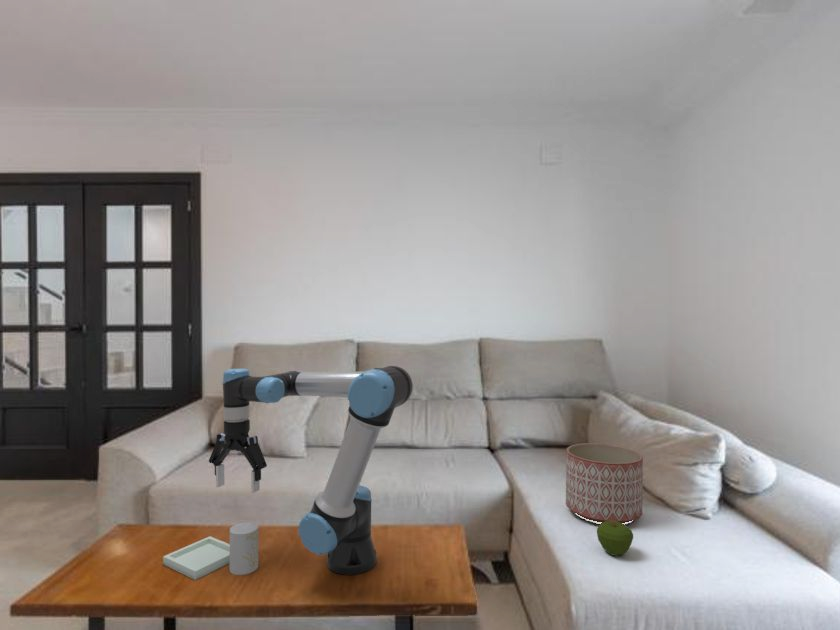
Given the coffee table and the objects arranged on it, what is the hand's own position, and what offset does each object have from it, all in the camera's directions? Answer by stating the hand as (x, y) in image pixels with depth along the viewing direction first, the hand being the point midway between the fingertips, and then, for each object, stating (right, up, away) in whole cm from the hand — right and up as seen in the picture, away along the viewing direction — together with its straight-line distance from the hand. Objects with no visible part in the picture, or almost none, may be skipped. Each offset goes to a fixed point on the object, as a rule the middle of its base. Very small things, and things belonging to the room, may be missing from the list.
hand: (237, 488), depth 154 cm
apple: (+118, -23, +7) cm, 121 cm away
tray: (-11, -22, 0) cm, 25 cm away
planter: (+126, -23, +38) cm, 133 cm away
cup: (+3, -23, -4) cm, 23 cm away
